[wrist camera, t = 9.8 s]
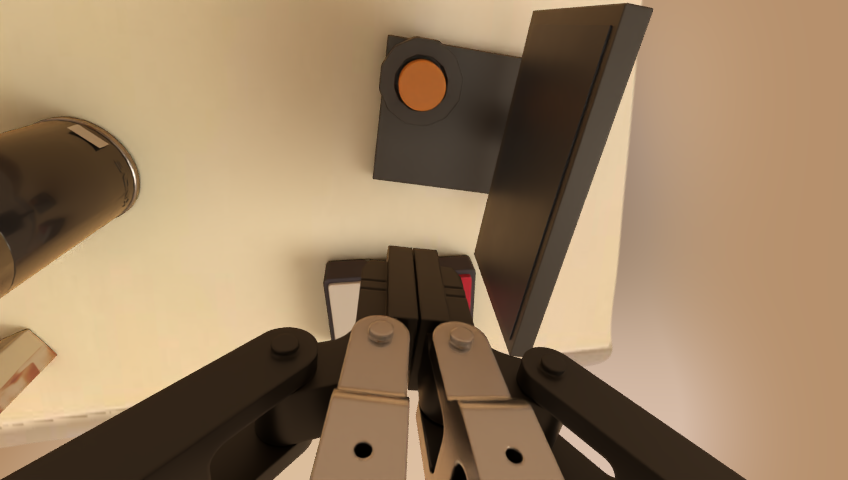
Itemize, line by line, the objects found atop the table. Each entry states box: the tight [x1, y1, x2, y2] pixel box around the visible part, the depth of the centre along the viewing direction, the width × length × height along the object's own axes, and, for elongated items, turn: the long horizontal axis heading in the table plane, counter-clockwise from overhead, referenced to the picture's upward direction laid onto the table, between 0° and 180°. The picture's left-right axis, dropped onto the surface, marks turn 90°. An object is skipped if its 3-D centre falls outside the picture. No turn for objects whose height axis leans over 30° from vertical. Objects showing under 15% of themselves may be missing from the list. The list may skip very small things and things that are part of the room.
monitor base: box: [373, 35, 522, 194], centre depth 36 cm, size 15×12×3 cm
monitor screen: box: [474, 3, 653, 357], centre depth 25 cm, size 2×18×12 cm, turn 171°
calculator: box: [323, 256, 476, 340], centre depth 44 cm, size 11×4×15 cm
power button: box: [398, 59, 446, 111], centre depth 32 cm, size 4×4×2 cm
